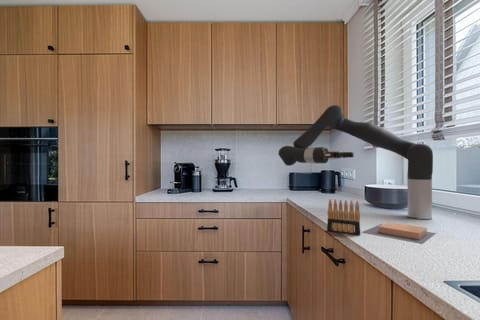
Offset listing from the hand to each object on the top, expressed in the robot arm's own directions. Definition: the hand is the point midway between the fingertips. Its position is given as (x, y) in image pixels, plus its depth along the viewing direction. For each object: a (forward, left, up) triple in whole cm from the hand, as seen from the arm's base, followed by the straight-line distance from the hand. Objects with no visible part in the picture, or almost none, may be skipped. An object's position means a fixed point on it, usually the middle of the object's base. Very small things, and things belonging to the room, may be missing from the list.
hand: (352, 154), depth 115 cm
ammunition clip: (+23, +7, -28) cm, 37 cm away
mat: (+9, +20, -28) cm, 36 cm away
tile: (+9, +15, -26) cm, 32 cm away
